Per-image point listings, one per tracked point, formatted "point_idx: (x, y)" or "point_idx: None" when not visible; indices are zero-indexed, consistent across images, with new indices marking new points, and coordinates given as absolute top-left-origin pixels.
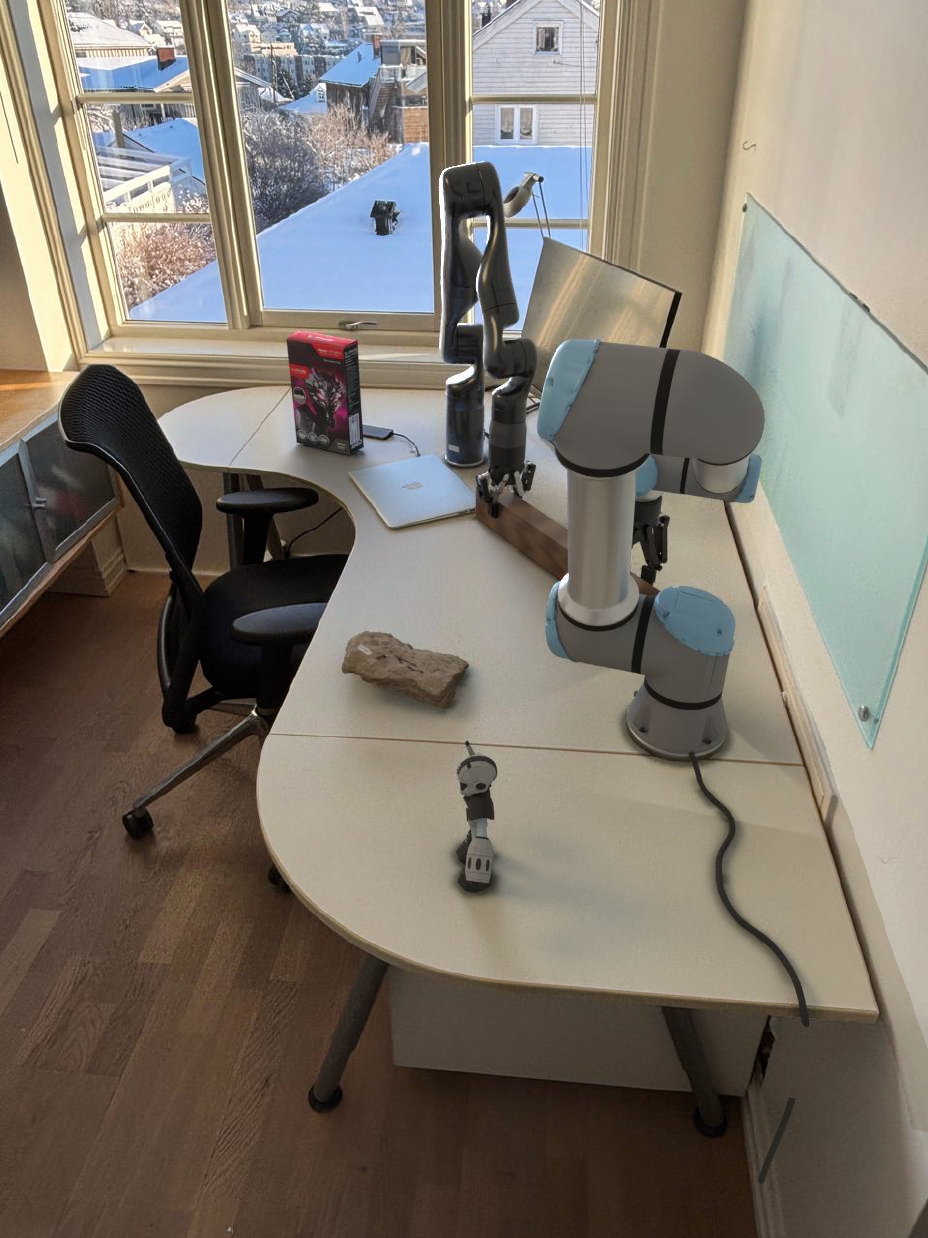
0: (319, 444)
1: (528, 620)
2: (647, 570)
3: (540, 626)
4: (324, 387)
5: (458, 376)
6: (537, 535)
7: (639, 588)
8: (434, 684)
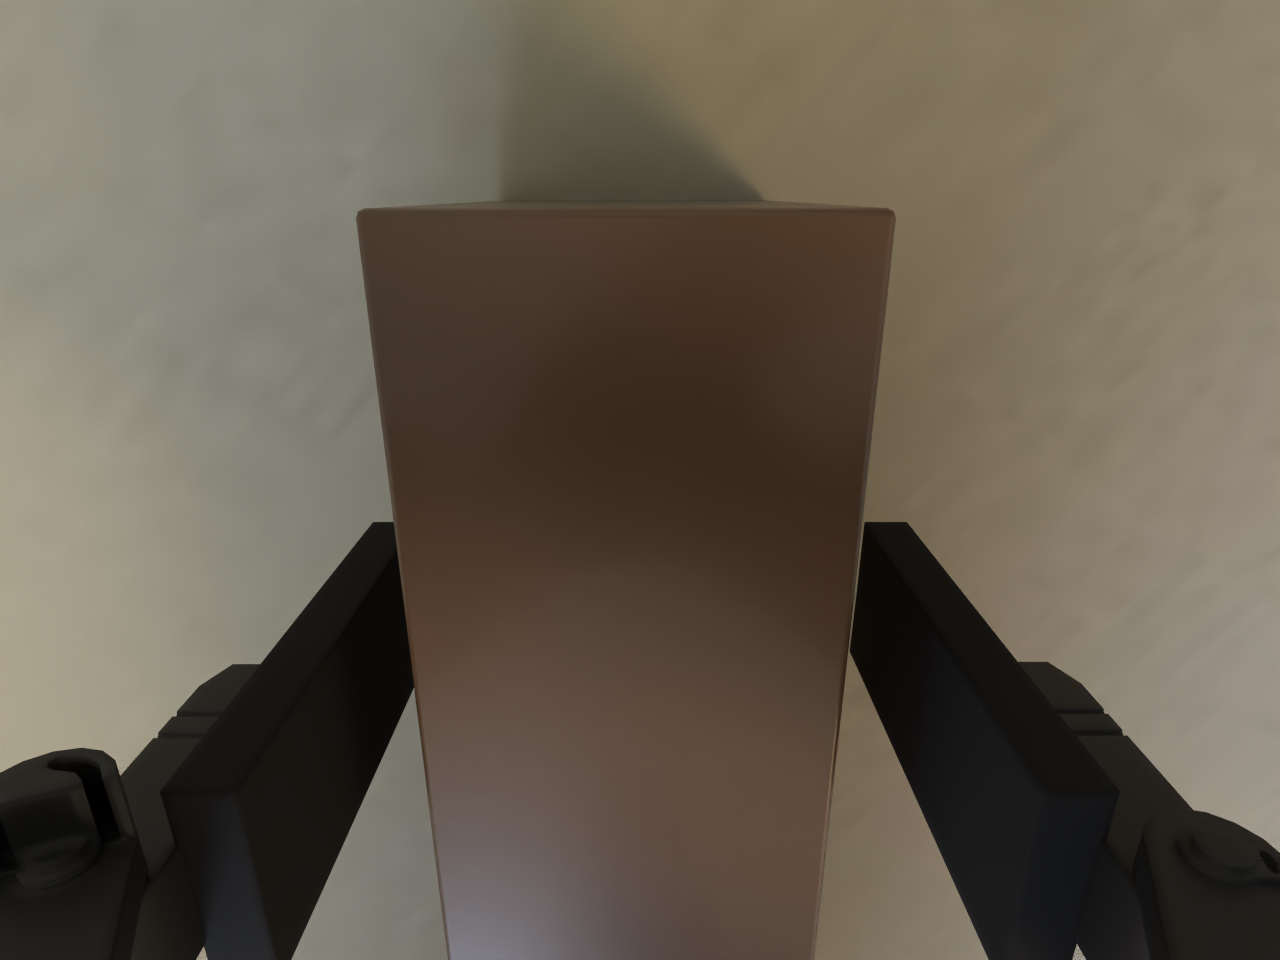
0: None
1: (1268, 831)
2: (267, 857)
3: (1273, 744)
4: None
5: None
6: None
7: (639, 595)
8: None
